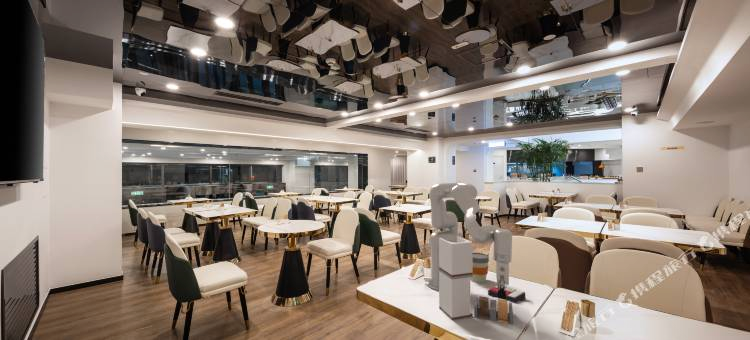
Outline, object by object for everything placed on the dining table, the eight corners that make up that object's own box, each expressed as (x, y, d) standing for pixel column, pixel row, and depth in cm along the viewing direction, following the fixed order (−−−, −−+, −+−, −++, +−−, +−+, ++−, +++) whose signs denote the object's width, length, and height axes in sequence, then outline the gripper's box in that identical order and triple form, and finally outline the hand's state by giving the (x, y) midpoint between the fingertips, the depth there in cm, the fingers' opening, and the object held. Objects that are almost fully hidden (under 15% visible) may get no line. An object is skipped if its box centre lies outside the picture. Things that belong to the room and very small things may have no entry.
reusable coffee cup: (463, 276, 185) (463, 252, 185) (482, 275, 186) (482, 252, 186) (472, 284, 172) (472, 259, 172) (492, 283, 174) (492, 258, 174)
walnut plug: (479, 314, 136) (479, 299, 135) (479, 310, 139) (479, 296, 139) (488, 316, 134) (488, 301, 134) (488, 312, 138) (488, 297, 138)
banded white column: (472, 318, 134) (472, 242, 134) (451, 322, 131) (451, 244, 131) (458, 307, 145) (458, 236, 145) (439, 310, 142) (439, 238, 142)
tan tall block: (507, 319, 131) (507, 304, 131) (497, 318, 133) (497, 302, 132) (507, 315, 135) (507, 300, 135) (497, 313, 136) (497, 298, 136)
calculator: (498, 283, 165) (525, 291, 154) (498, 291, 165) (525, 299, 154) (487, 288, 159) (515, 296, 147) (487, 296, 159) (515, 305, 147)
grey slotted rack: (474, 319, 134) (474, 306, 133) (475, 309, 143) (475, 297, 143) (513, 326, 128) (513, 312, 127) (511, 315, 137) (511, 302, 137)
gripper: (512, 264, 124) (511, 304, 125) (510, 252, 140) (509, 287, 141) (493, 261, 127) (492, 300, 127) (493, 250, 143) (492, 285, 143)
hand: (501, 293), depth 134 cm, fingers open, 9 cm apart
